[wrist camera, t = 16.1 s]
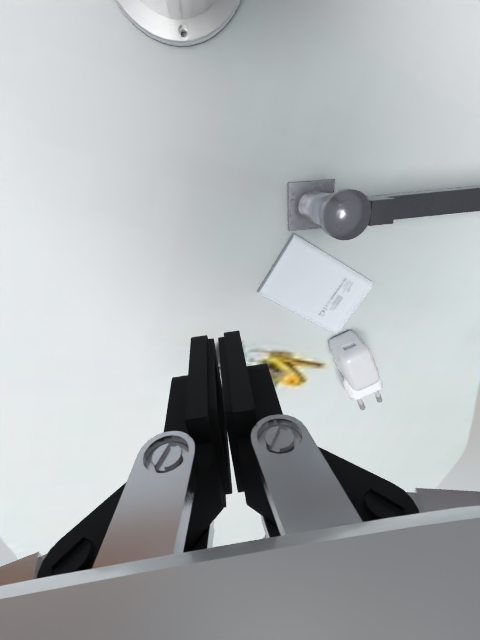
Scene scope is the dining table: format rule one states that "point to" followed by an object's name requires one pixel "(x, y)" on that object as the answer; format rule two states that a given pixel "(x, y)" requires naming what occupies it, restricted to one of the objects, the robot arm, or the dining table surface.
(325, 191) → the post
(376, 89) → the dining table surface
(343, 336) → the power adapter
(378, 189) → the dining table surface
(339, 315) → the external hard drive
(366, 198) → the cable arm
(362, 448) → the dining table surface
